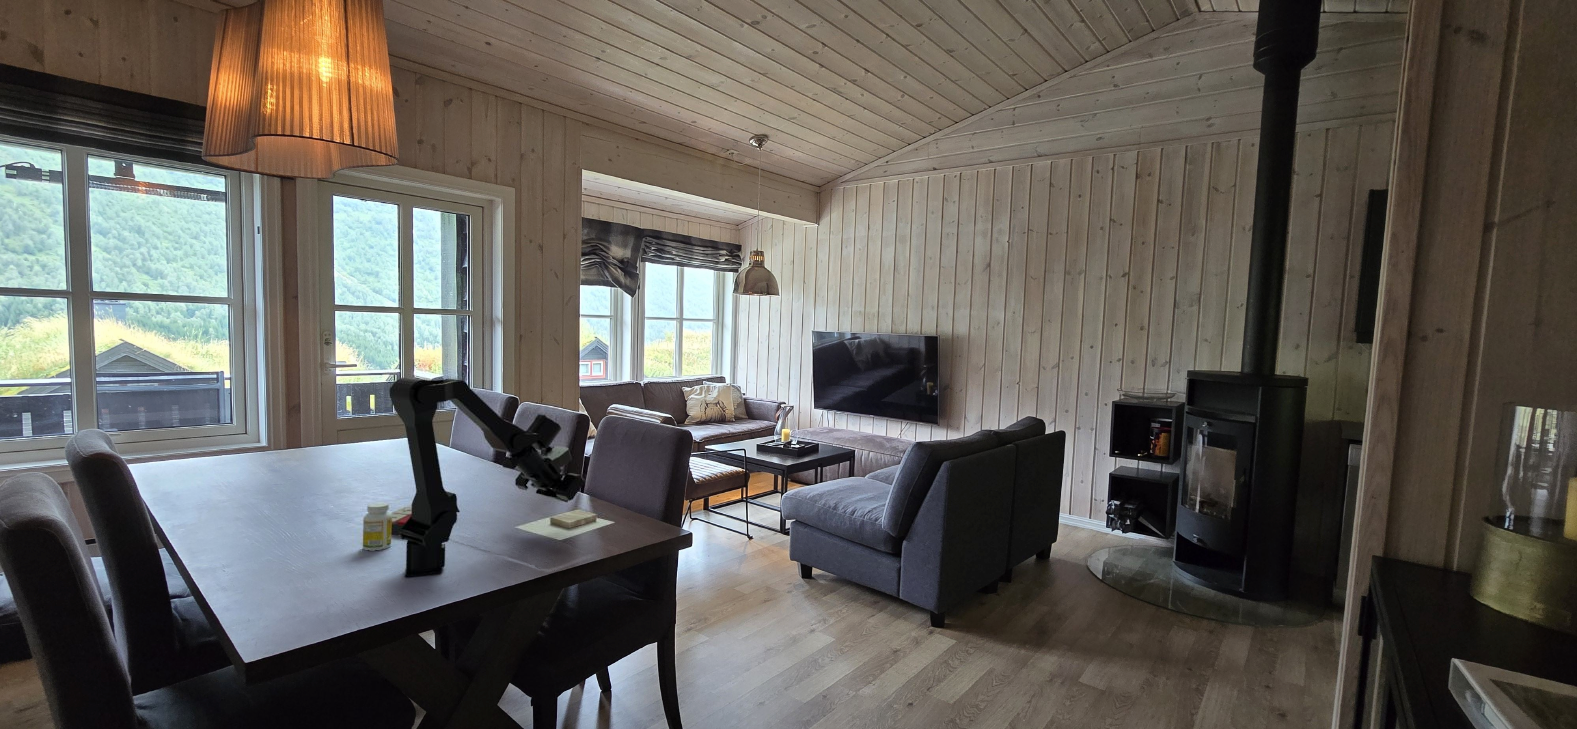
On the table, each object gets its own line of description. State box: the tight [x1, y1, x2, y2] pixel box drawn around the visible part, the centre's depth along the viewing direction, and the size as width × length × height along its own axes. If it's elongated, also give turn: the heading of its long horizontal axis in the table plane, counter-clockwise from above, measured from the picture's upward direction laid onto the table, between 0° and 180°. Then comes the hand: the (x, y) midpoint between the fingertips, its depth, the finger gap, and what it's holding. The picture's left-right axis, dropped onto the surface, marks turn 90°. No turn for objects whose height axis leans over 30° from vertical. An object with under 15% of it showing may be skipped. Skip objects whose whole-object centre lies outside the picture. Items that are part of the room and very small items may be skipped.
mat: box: [514, 511, 615, 541], centre depth 167 cm, size 18×16×1 cm
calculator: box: [391, 504, 427, 536], centre depth 162 cm, size 11×4×15 cm
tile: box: [550, 509, 598, 529], centre depth 169 cm, size 2×7×9 cm
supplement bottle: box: [362, 501, 392, 552], centre depth 146 cm, size 5×5×10 cm
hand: (567, 500), depth 167 cm, fingers closed
